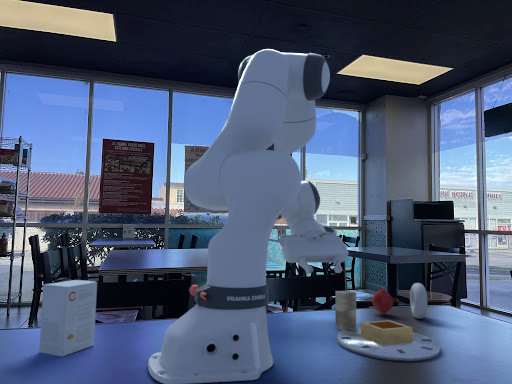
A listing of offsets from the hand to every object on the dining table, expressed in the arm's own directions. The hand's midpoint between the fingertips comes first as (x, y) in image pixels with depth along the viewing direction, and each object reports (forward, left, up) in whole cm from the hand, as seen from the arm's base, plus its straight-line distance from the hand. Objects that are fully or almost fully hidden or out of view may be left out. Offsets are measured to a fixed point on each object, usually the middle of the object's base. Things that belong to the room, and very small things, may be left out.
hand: (325, 271), depth 109 cm
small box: (-64, -7, -13) cm, 66 cm away
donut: (+27, -7, -13) cm, 31 cm away
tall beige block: (0, -10, -13) cm, 16 cm away
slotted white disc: (0, -25, -13) cm, 28 cm away
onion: (+20, 0, -13) cm, 24 cm away
